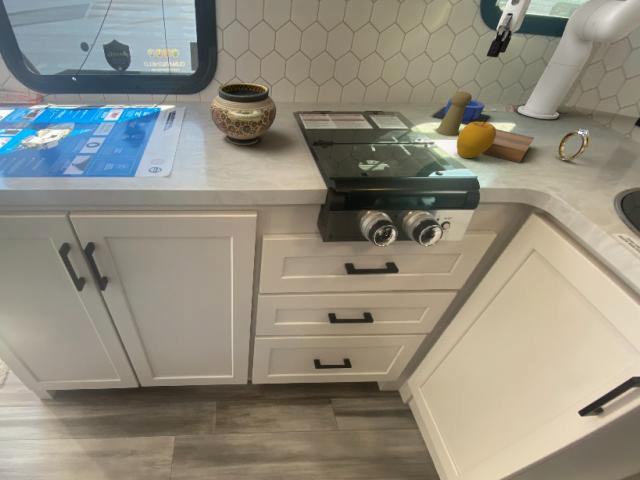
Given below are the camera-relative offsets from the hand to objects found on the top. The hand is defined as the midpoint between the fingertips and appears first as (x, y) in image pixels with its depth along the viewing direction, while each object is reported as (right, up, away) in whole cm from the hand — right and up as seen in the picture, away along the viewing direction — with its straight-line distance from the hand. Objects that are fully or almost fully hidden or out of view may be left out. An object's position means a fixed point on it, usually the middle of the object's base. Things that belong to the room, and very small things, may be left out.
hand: (495, 54), depth 110 cm
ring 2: (+7, -40, -15) cm, 43 cm away
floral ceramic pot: (-81, -32, -11) cm, 88 cm away
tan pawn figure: (-17, -26, -1) cm, 31 cm away
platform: (-7, -35, -10) cm, 37 cm away
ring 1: (-5, -14, +10) cm, 18 cm away
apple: (-20, -39, -15) cm, 47 cm away
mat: (-5, -15, +10) cm, 18 cm away
